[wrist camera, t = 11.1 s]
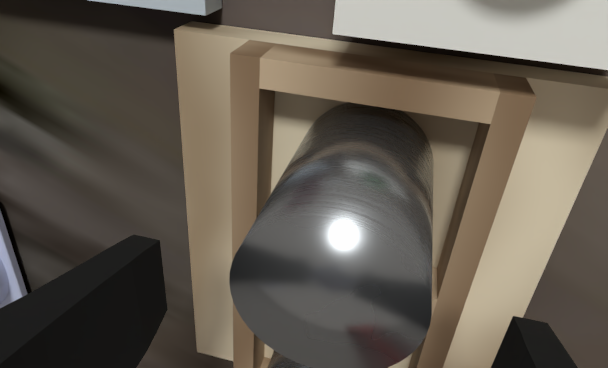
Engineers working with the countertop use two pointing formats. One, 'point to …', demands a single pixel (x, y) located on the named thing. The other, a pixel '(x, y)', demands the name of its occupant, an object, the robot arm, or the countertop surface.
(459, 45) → the button housing
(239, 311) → the cylinder
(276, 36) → the board
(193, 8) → the tray
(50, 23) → the countertop surface
